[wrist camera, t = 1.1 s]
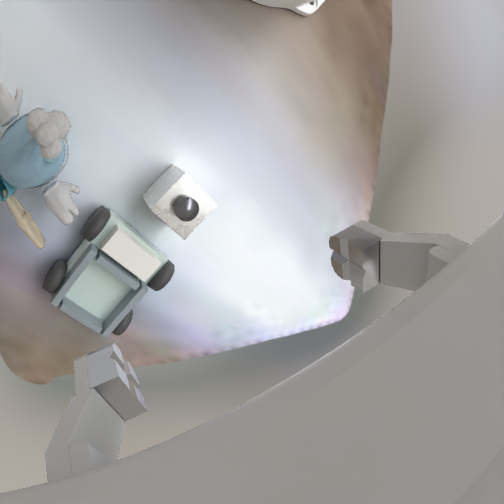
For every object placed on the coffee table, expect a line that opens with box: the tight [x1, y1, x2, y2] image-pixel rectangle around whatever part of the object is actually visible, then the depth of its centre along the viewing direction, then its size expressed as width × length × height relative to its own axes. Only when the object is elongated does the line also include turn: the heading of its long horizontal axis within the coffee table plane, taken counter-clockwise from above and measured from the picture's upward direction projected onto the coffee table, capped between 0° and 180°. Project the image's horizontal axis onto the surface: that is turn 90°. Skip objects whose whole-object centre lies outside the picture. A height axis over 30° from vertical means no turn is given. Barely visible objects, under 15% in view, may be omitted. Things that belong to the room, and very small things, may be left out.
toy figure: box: [0, 82, 80, 249], centre depth 21 cm, size 17×10×15 cm, turn 25°
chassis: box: [42, 206, 174, 338], centre depth 35 cm, size 12×11×4 cm
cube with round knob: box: [142, 164, 217, 240], centre depth 34 cm, size 5×5×7 cm
